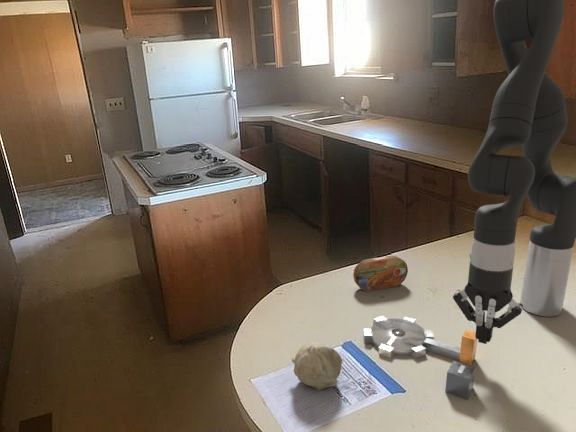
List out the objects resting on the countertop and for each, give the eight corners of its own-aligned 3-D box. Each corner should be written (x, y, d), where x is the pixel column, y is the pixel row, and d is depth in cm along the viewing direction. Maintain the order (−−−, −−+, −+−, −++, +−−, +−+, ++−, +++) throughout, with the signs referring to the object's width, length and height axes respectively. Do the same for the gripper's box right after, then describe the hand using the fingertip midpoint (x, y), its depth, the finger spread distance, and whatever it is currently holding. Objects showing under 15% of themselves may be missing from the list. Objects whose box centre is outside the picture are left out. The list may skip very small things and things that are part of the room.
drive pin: (426, 343, 105) (428, 319, 103) (474, 358, 100) (478, 333, 98) (422, 350, 103) (424, 325, 101) (471, 365, 98) (474, 339, 96)
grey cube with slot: (451, 382, 94) (453, 360, 92) (472, 390, 91) (475, 367, 90) (444, 394, 90) (447, 371, 89) (467, 402, 88) (469, 378, 87)
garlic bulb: (339, 393, 95) (358, 355, 91) (309, 408, 89) (328, 368, 85) (308, 360, 100) (324, 323, 96) (278, 372, 95) (294, 333, 91)
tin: (356, 293, 129) (356, 264, 126) (351, 288, 132) (352, 259, 129) (407, 285, 132) (409, 256, 130) (401, 280, 135) (403, 252, 133)
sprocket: (381, 317, 117) (381, 309, 116) (440, 334, 109) (441, 326, 109) (353, 347, 105) (353, 338, 105) (417, 368, 98) (418, 359, 97)
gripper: (533, 260, 90) (522, 341, 96) (460, 247, 97) (454, 323, 103) (527, 276, 84) (515, 361, 90) (449, 261, 91) (443, 341, 97)
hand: (482, 341), depth 96 cm, fingers closed
